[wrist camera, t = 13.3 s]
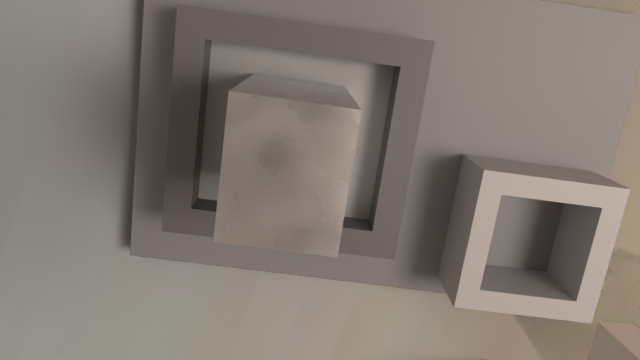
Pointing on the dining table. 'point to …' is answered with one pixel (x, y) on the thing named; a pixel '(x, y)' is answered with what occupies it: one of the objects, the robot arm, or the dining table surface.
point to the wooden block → (286, 165)
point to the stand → (407, 140)
